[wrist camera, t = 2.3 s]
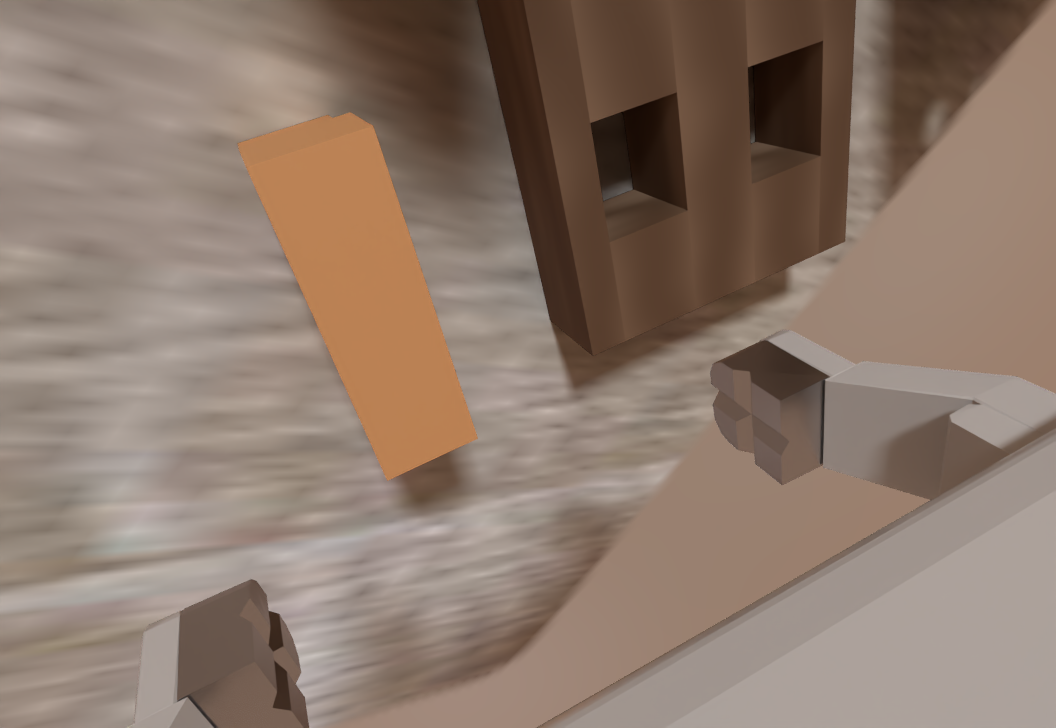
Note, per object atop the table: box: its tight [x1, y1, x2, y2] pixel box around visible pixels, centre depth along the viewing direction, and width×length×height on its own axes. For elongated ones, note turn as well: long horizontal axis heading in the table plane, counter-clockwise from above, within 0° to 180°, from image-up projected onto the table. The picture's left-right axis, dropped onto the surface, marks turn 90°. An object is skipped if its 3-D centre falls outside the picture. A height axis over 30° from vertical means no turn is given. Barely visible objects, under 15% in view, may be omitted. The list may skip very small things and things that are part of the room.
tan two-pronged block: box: [237, 112, 478, 481], centre depth 19 cm, size 9×3×7 cm, turn 14°
